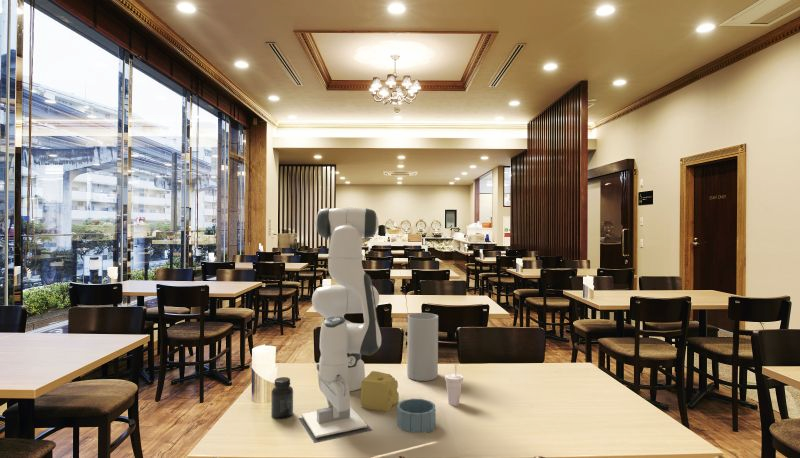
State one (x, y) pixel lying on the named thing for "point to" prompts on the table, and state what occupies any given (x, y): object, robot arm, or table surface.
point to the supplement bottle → (282, 399)
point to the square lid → (332, 421)
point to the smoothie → (453, 387)
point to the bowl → (416, 415)
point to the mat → (332, 434)
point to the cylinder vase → (422, 346)
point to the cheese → (379, 391)
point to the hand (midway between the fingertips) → (333, 414)
